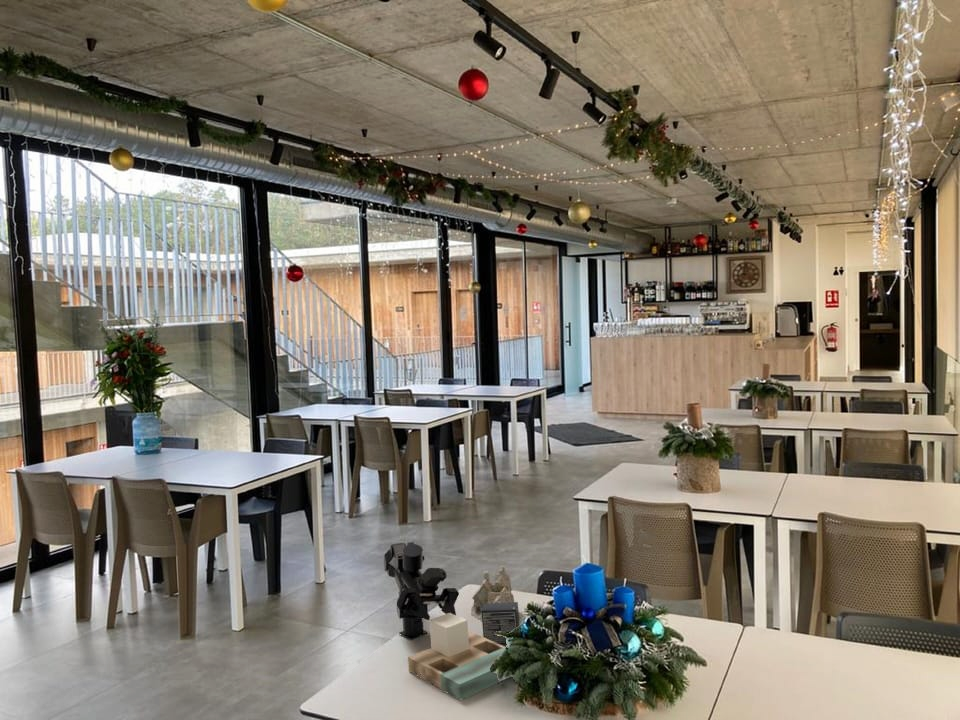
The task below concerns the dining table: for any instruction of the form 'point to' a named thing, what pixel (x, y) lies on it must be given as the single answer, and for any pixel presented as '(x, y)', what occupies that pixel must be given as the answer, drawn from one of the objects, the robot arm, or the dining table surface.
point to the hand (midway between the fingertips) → (442, 618)
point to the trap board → (459, 667)
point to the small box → (499, 620)
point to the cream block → (449, 634)
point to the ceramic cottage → (492, 592)
